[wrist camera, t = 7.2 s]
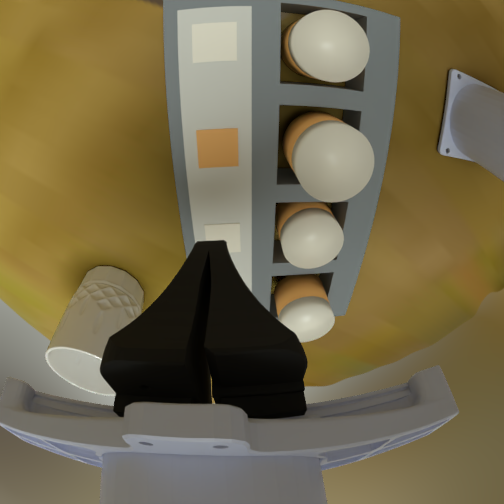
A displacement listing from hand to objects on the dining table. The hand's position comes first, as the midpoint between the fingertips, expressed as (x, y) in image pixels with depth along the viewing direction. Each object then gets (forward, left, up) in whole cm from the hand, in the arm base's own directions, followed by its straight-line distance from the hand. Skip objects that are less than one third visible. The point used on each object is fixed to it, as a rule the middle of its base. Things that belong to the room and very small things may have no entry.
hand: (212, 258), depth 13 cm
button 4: (-6, +10, -7) cm, 14 cm away
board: (-4, 0, -9) cm, 10 cm away
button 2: (-6, -3, -7) cm, 10 cm away
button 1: (-6, -10, -9) cm, 15 cm away
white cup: (+12, +11, -10) cm, 19 cm away
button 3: (-6, +3, -9) cm, 12 cm away
